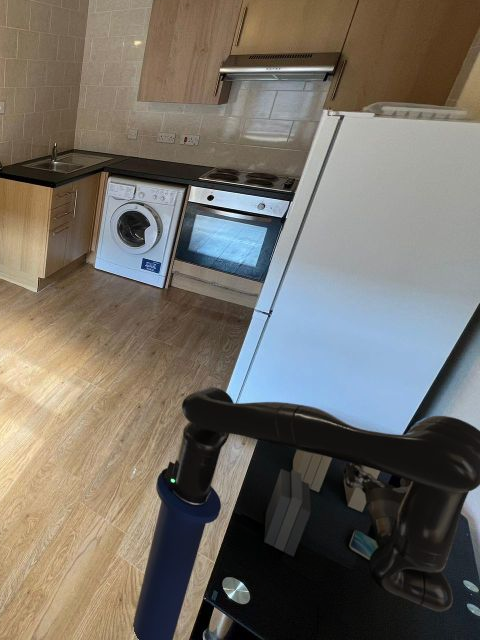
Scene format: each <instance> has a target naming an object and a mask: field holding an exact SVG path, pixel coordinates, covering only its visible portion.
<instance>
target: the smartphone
mask: <svg viewBox="0 0 480 640" xmlns="http://www.w3.org/2000/svg"><path fill="white" fill-rule="evenodd" d="M348 546H349V549H351V551H353V552H355V553H357V554H358V555H360V556H362V557H363V558H364V559H367V560H368V561H369V560H370V557H371V555H372V553H373V552H374V550H375V549H376V548H377V547H378V545H377V543H376V539H373V538H372V537H370V536H368V535H366V534H365V533H363V532H361V531H359V530H353V533H352V536H351V539H350V542H349V545H348Z"/></svg>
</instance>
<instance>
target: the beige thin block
mask: <svg viewBox="0 0 480 640" xmlns="http://www.w3.org/2000/svg"><path fill="white" fill-rule="evenodd" d="M349 464H350V465H351V463H349ZM362 469H363V470H364V471H365V472H366V473H370V474H371V475H372V476H373V477H374V478H375V479H377V480H378V477H379V474H380V472H381V471H379V470H375V469H372V468H369V467H366V466H362ZM359 475H360V476H361V474H359ZM368 481H370V480H369V479H368ZM343 485H344V486H343V487H344V491H345V498H346V499H345V500H346V504H347V505H346V506H347V507H349V508H351V509H354V510H356V511H357V512H361V513H363V512H364V509H365V506H367V503H366V498H365V493H364V492H363V491H362V489H360V488H357V487H355V486H353V488H349V487H348V486H347V485H346V483H345V479H344V478H343Z"/></svg>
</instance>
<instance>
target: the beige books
mask: <svg viewBox="0 0 480 640" xmlns="http://www.w3.org/2000/svg"><path fill="white" fill-rule="evenodd" d="M332 460H333V458H331V457H327V456H323V455H318V454H313V453H308V452H304V451H300V450H296V451H295V454H294V457H293V460H292V470H294V471H296V472H299V473H301V478H302V481H303V482H306V483H308V484H309V490H312V491H313V492H314V491H315V492H317V493H319V492H320V491H321V488H322V486H323V484H324V483H323V482H324V480H325V478H326V475H327V473H328V469H329V467H330V464H331V462H332Z"/></svg>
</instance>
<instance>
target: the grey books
mask: <svg viewBox="0 0 480 640" xmlns="http://www.w3.org/2000/svg"><path fill="white" fill-rule="evenodd" d="M310 491H311V489H309V484H308V483H306V482H303V481H302V478H301V473H299V472H296V471H294V470H293V469H291V471H287V470H285V469H283V468H281V469H280V472H279V475H278V477H277V480H276V483H275V487H274V488H273V492H272V495H271V497H270V500H269V503H268V506H267V510H266V512H265V522H264V523H265V525H264V539H263V542H264V543H265V544H267V545H269V546H271V547H274V548H275V549H277V550H279V551H281V552H284V553H285V554H287V555H289V556H291V557H295V554H296V552H297V549H298V546H299V545H300V542H301V539H302V537H303V533H304V532H305V528H306V526H307V523H308V521H309V518H310V516H311V513H312V509H311V508H312V507H311V492H310Z"/></svg>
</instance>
